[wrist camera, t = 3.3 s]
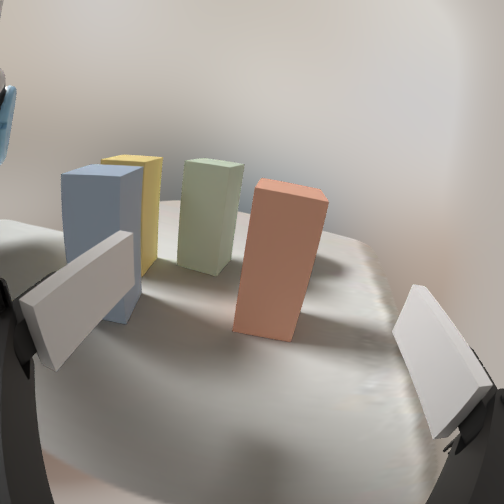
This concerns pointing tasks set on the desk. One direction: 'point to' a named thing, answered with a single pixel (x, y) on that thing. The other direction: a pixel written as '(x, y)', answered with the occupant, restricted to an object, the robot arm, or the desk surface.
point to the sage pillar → (208, 214)
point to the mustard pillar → (145, 202)
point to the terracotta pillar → (278, 258)
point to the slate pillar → (104, 217)
